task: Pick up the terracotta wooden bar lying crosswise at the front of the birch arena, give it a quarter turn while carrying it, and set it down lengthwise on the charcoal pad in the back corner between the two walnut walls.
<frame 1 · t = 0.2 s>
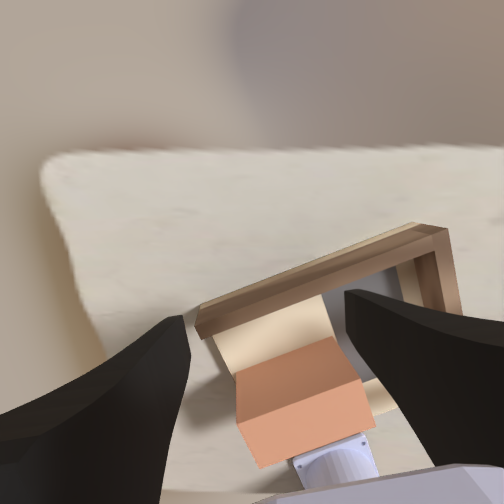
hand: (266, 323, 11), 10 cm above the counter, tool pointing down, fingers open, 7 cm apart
arena: (333, 344, 23), on the counter
terracotta bar: (292, 373, 22), point 1 cm above the counter, touching arena
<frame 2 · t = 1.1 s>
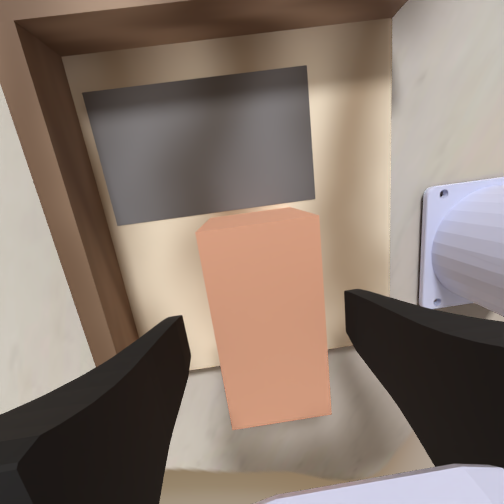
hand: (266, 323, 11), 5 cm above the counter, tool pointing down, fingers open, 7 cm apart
arena: (241, 212, 15), on the counter
terracotta bar: (260, 287, 15), point 1 cm above the counter, touching arena
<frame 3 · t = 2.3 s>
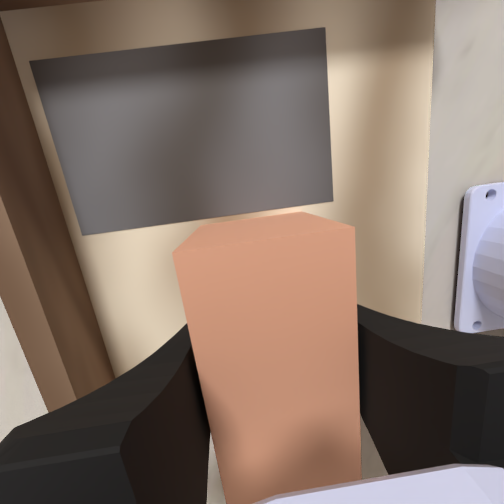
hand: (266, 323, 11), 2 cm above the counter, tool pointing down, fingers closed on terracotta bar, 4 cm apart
arena: (239, 217, 12), on the counter
terracotta bar: (263, 310, 12), point 1 cm above the counter, touching arena, gripper
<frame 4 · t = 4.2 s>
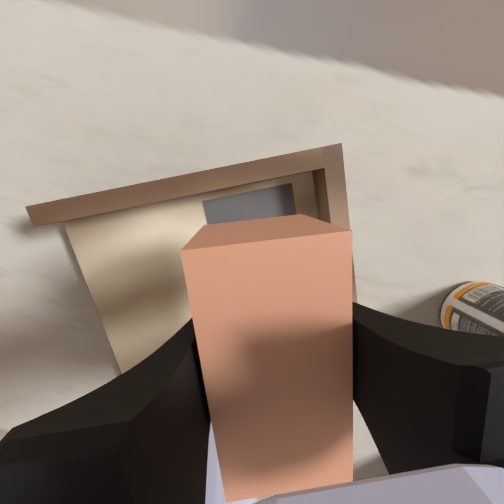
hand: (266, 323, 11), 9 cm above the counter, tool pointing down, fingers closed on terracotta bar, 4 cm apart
arena: (220, 284, 20), on the counter
pill bottle: (465, 307, 22), on the counter
terracotta bar: (262, 308, 12), point 8 cm above the counter, touching gripper
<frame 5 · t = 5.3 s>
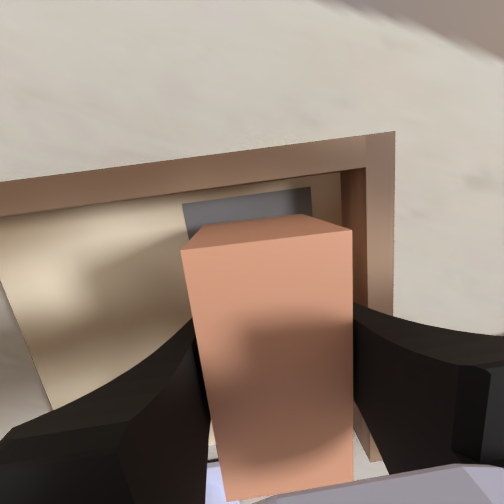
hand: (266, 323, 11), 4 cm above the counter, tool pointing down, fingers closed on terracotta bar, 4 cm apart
arena: (203, 317, 15), on the counter
terracotta bar: (262, 308, 12), point 2 cm above the counter, touching gripper
when the fingers open (4 cm above the counter, at t = 6.2 s): terracotta bar drops 1 cm, resting on arena.
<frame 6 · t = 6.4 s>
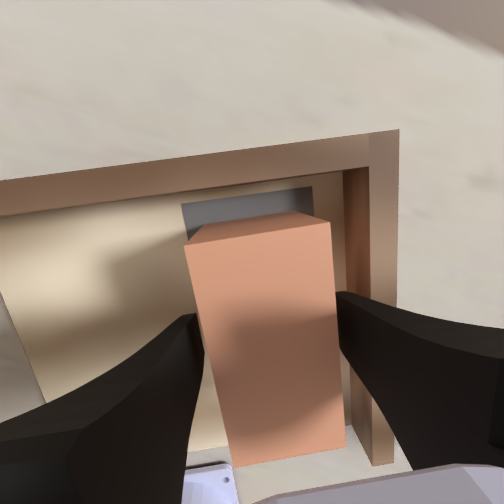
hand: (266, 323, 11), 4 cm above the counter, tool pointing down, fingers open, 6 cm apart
arena: (203, 319, 15), on the counter
terracotta bar: (261, 299, 13), point 1 cm above the counter, touching arena
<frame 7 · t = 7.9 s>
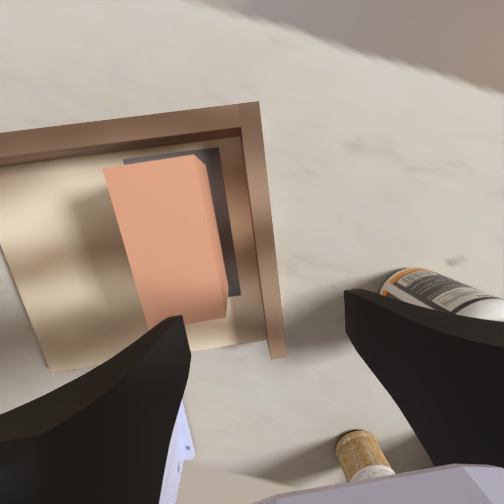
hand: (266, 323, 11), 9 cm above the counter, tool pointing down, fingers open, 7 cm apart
arena: (147, 253, 19), on the counter
pill bottle: (404, 294, 22), on the counter
sprinkles bottle: (354, 443, 25), on the counter
terracotta bar: (187, 234, 18), point 1 cm above the counter, touching arena
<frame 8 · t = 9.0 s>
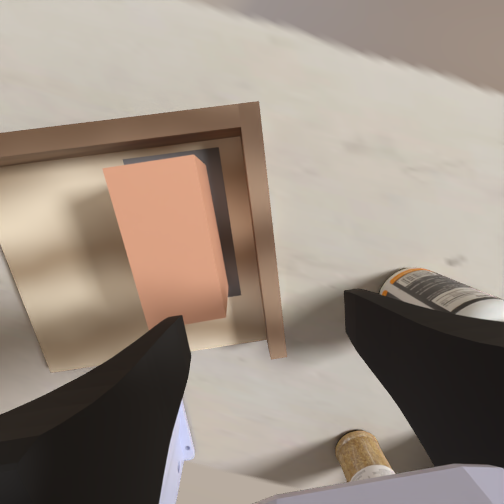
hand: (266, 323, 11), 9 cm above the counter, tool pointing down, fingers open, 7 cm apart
arena: (147, 253, 19), on the counter
pill bottle: (404, 294, 22), on the counter
sprinkles bottle: (354, 443, 25), on the counter
terracotta bar: (187, 234, 18), point 1 cm above the counter, touching arena
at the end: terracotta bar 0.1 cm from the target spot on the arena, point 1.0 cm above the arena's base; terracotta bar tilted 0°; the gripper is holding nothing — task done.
